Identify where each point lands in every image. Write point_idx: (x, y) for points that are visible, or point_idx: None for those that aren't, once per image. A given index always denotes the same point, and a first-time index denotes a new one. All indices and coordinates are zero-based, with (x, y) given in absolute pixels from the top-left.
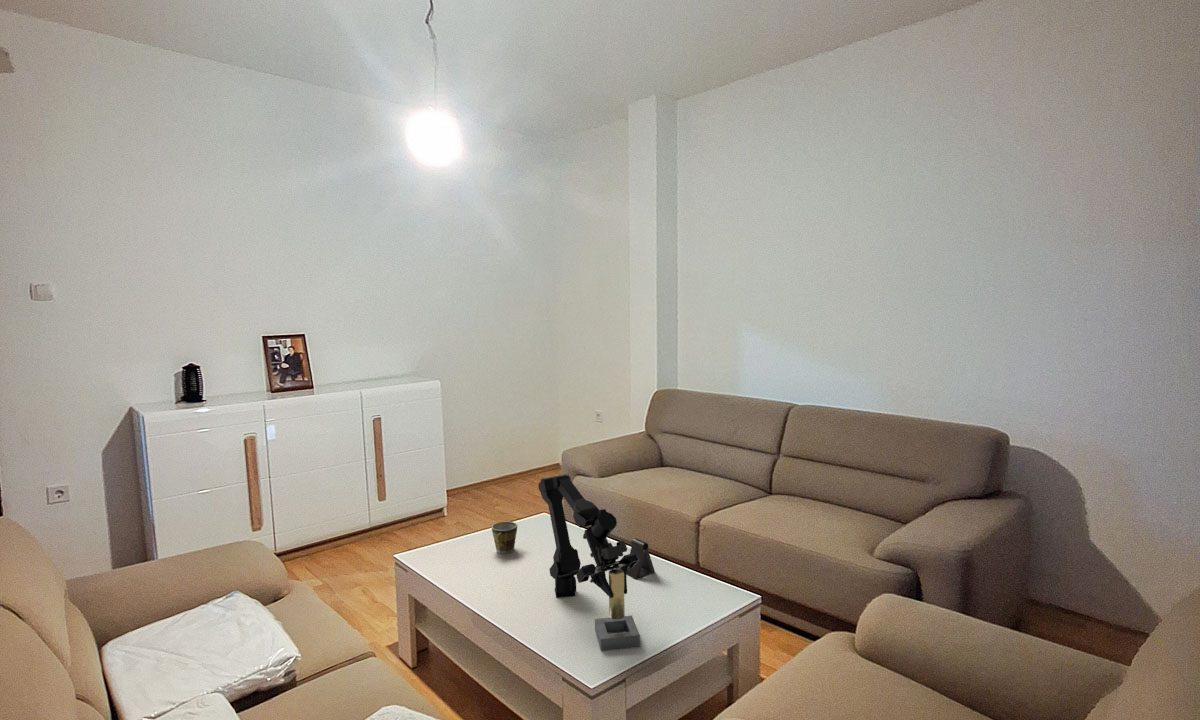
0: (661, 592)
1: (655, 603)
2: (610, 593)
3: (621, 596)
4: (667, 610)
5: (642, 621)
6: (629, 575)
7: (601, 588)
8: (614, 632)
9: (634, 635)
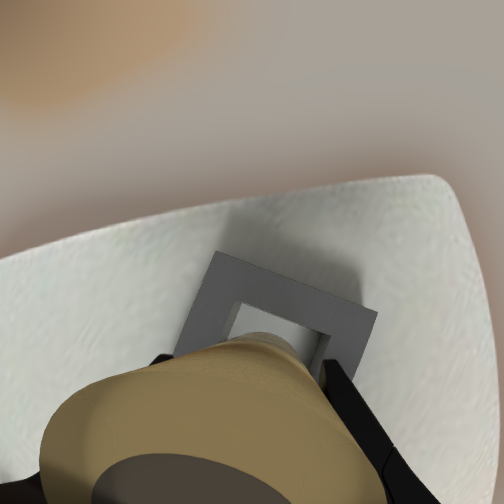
0: (17, 460)
1: None
2: (346, 381)
3: (239, 338)
4: (35, 386)
5: None
6: None
7: None
8: None
9: (236, 261)
